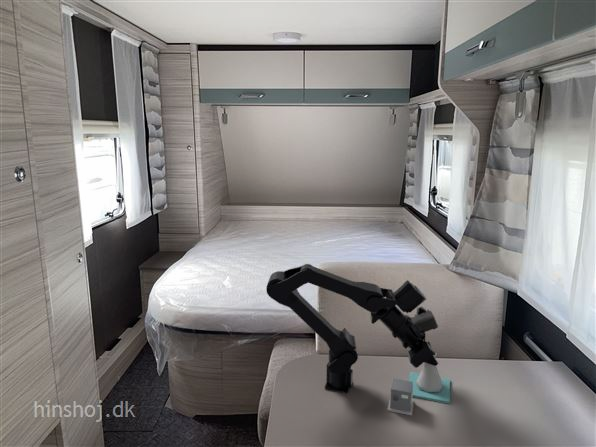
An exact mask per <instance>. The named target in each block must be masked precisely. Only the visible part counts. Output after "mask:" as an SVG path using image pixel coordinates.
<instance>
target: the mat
mask: <svg viewBox="0 0 596 447" xmlns="http://www.w3.org/2000/svg"><path fill="white" fill-rule="evenodd" d="M419 375H420V373H417V372H416V373H415V372H412V371H411V372H409V378H408V381H411V382H413V398H416V399H422V400H426V401H427V400H428V401H434V402H439V403H443V404H449V405H450V404H451V379H450V378H447V377H441V376H440V379H441V381H442V384H443V387H442V389H441V391H440V392H427V391H424V390H421V389H419V388H418V386H417V384H416V381H417V379H418V377H419Z"/></svg>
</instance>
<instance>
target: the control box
mask: <svg viewBox="0 0 596 447" xmlns="http://www.w3.org/2000/svg"><path fill="white" fill-rule="evenodd" d="M413 398H414V397H413V382H411V381H409V380H404V379H398V378H394V377H393V378H392V384H391V387H390V397H389V402H388V406H387V411H388V412H393V413H398V414H402V415H403V414H404V415H407V416H412V415H413V409H414V399H413Z"/></svg>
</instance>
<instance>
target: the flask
mask: <svg viewBox="0 0 596 447" xmlns="http://www.w3.org/2000/svg"><path fill="white" fill-rule="evenodd" d="M433 352H434V354H433V356H434V357H435V359H436V358H437V355H438V353H437V352H436V351H435V350H433ZM436 360H437V359H436ZM422 366H423V367H422V369H421V371H420V373H419V374H420V375H419V377H418V379H417V381H416V384H417V386H418V388H419V389H421V390H424V391H427V392H440V391H441V389H442V387H443V384H442V381H441V379H440V377H441V376H440V373H439V370H438V367H437V365H436V366H434V365H431V364H428V363H425V362H424V363H423V365H422Z"/></svg>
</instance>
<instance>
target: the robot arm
mask: <svg viewBox="0 0 596 447" xmlns="http://www.w3.org/2000/svg"><path fill="white" fill-rule="evenodd" d="M306 284H310V285H313V286H316V287H319V288H321V289H323V290H327V291H330V292H333V293H335V294H337V295H340V296H343V297H346V298H348V299H349V300H351V301H353V303H355V304H356V305H357V306H359V307H361V308H362V309H364V310H366V311H367V312H370V317H369V318H370V321H371V324H372V325H373V324H375V323H376V322H378V321H379V322H381V323H382V324H383V326H384V327H386V329H388V330H389V331H390V332H391V335H392V337H393V338H394V339H397V340H399V341H400V342H401V345H402V347H403V348H404V349H407V348H409V350H408V352H407V358H408V361H409V363H410V364H411V365H412V366H413V367H414V368H415V369H416V368H419V367H420V366H421V365H423V364H424V363H428V364H431V365H434V366H437V365H439V362H438V360H437V359H435V357H434V356H433V354H434V352H433V351H434V349H433V347H432V345H431V343H430V341H426V332H429V331H432V330H436V329H438V328H439V325H438V323H437V320H436V318H435V315H434V314H433V312H432V310H429V309H425V308H424V307H423V306H420V305H421V304H423V303H424V302H425V301H426V300H427V297H426V296H425V295H424V293H423V292H422V291H421V290H420V288H419V287H418V286H417V285H414V283H412V282H410V280H408V279H407V280H406V281H405V282H404V283H403V284H402V285H401V286H400V287H398V288H397V289H396V290H395V291H393V289H390V288H385V287H380V286H379V285H377V284H375V283H370V282H366V281H353V280H350V279H348V278H345V277H342V276H340V275H337V274H334V273H332V272H328V271H327V270H324V269H321V268H318V267H316V266H313V265H312V264H311V263H304V264H302V265H299V266H297V267H293V268H289V269H286V270H282V271H274V272H273V273H271V275H270V277H269V279H268V281H267V285H266V293H267V294H266V295H268V297H269V298H270V299H272V300H273V301H274V302H276V303H278V304H280V305H282V306H285V307H287V308H289V309H290V310H291V311H292V312H293V313H295V315H297V317H299V318H300V319H301V320H302V321H303V322H304V323H305V324H306V325H307V326H308V327H309V328H310V329H311V330H312V331H313V332H314V333H315V334H316V335H317V336H319V337H320V338H321V340H323V341H324V342H325V343H326V345H327V347H328V350H327V351H328V354H327V355H328V363H327V364H326V379H325V380H326V382H325V385H324V389H325V390H330V391H335V392H340V393H344V394H347V393H349V391H350V388H351V387H352V385H353V383H354V382H353V380H354V376H353V375H354V370H353V369H352V366H353V365H354V364H356V362H357V361H358V358H359V355H358V354H359V352H358V349H357V348H358V347H357V342H356V339H355V336H354V335H352V334H351V333H350V332H349V331H348V329H347V328H345V327H344V328H343V329H342V330H339V329H337V328H335V327H334V326H333V325H332V324H331V323H330V322H329V321H328V320H327V318H325V317H324V316H323V315H322V314H321V313H320V312H319V311H318V310H316V308H314V307H313V305H312V304H311V303H310V302H309V301H307V300H306V299H305V298H304V296H302V295H301V294H300V292H299V291H298V289H299V288H301V287H302V286H305V285H306ZM415 309H416V313H415V314H414V316H413V317H411V316H410V315H408V314H410V313H412V312H413V311H414V310H415ZM404 313H406V314H404Z"/></svg>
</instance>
